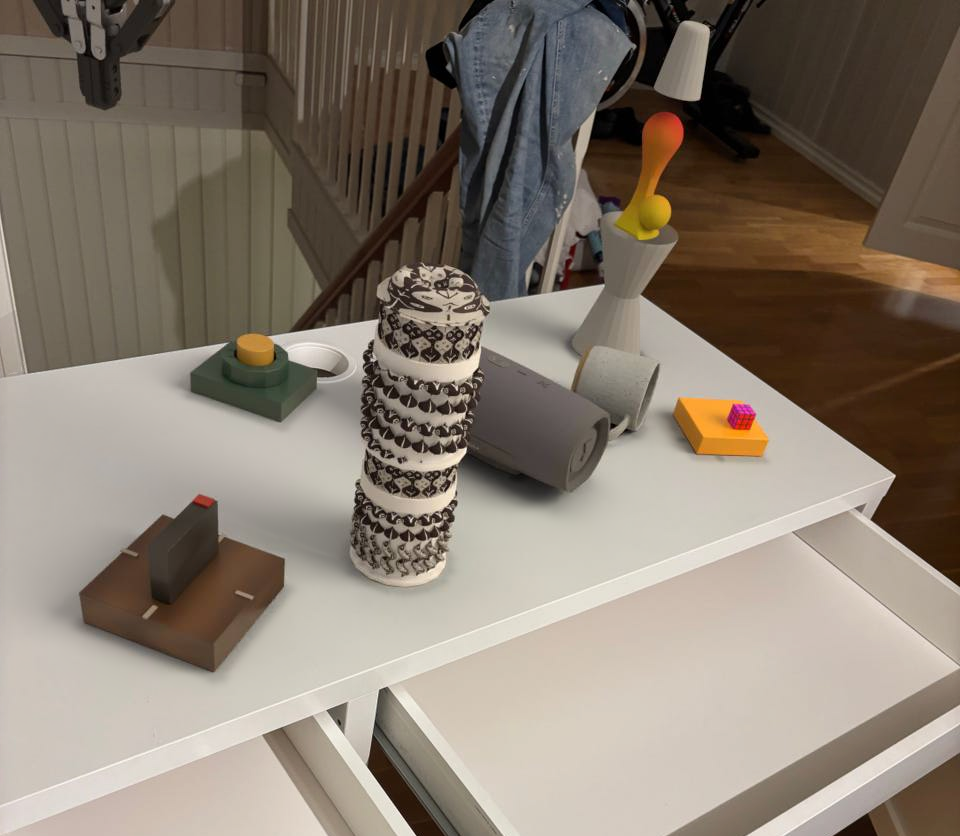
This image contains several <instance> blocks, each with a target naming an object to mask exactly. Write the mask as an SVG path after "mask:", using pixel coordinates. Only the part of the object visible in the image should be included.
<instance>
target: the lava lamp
mask: <svg viewBox="0 0 960 836" xmlns="http://www.w3.org/2000/svg"><path fill="white" fill-rule="evenodd" d="M710 35H711V31H710V28H709V27H708V25H705V24H703V23H701V22H698V21H693V20H684V21H682V22H681V23H680V24H679V25H678V27H677V30H676V32H675V35H674V37H673V39H672V42H671V44H670V47H669V49H668V51H667V53H666V56H665V58H664V61H663V64H662V66H661V68H660V71H659V74H658V76H657V78H656V81H655V83H654V86H653V89H654V90H655V91H656V92H657V93H659V94H661V95H663V96H666V97H668V98H672V99H674V100H676V99H677V100H679V101H680V100H681V101H687V102H696V101H700V100H701V95H702V89H703V81H704V77H705V76H704V75H705V68H706V62H707V56H708V49H709V43H710V37H711V36H710ZM641 133H642V136H641V142H642V143H641V146H642V149H641V152H642V154H641V155H642V156H641V157H642V161H641V162H642V163H641V171H640V175H639V178H638V183H637V186H636V189H635V191H634V193H633V195H632V198H631V200H630V202H629V204H627V207H626V208H625V209H624V210H620V211H619V210H618V211H617V210H616V211H609V212H607V213H604V214H602V216H601V217H600V235H601V251H602V266H603V280H604V287H603V288H602V290H601V292H600V293H599V295H598V297H597V298H596V300H595V302H594V303H593V305H592V307H591V308H590V310H589V311H588V313H587V315H586V316H585V318H584V320H583V321H582V323H581V325H580V326H579V327H578V329H577V331H576V333H575V334H574V336H573V337H572V339H571V347H572V348H573V349H574V352H576V353H577V354H578V355H579V356H580V357H582V355H583V354H584V352H585V351H586V350H587V349H588V348H589V347H591V346H604V347H609V348H613V349H616V350H620V351H624V352H628V353H632V354H636V355H640V356H641V315H640V314H641V307H640V306H641V305H640V304H641V303H640V296H641V295H642V293H643V292H644V290H645V289H646V287H647V286H648V284H649V283H650V281H651V280H652V278H653V277H654V276H655V274H656V273H657V271H658V270H659V268H660V267H661V266H662V264H663V263H664V261H665V260H666V258H667V257H668V255H669V254H670V253H671V252H672V250H673V248H674V247H675V246H676V244H677V243H678V240H679V233H678V231H677V230H676V229H675V228H674V227H673V226H671V225H670V224H668V223H669V221H670V219H671V217H672V207H671V204H670V201H669V200H668V199H667V198H666V197H664V196H662V195H660V194H655V191H656V188H657V186H658V182H659V179H660V177H661V175H662V174H663V172H664V170H665V168H666V166H667V165H668V163H669V161H670V160H671V159H672V158H673V156H674V155H675V154H676V153H677V151H678V149H679V148H680V146H681V145H682V142H683V140H684V126H683V124H682V121H681V119H680V118H679V117H678V116H677V115H676V114H674V113H672V112H670V111H660V112H657V113H655V114H653V115H652V116H651V117H649V118H648V120H647V121H646V122H645V123H644V126H643V128H642V132H641Z"/></svg>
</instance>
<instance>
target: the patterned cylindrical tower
mask: <svg viewBox="0 0 960 836" xmlns="http://www.w3.org/2000/svg"><path fill="white" fill-rule="evenodd" d="M376 288H377V289H376V297H377V298H378V299H379V301H380V302H379V313H378V321H377V322H378V323H377V324H376V325H375V329H374V339H371V340H370V341H369V342H368V343H367V349H365V350H364V351H363V352H362V360H363V361H364V363H363V364H362V370H363V372H364V373H365V374H366V375H365V376H363V378H362V380H361V385H362V387H363V391H362V394H361V396H360V401H361V403H362V405H361V406H360V412H361V414H362V415H363V416H362V417H361V419H360V422H359V424H360V427H361V431H360V441H361V442H362V444H363V446H364V447H365V449H364V450H365V451H364V458H363V459H362V462H361V469H360V470H361V471H360V478H358V479H357V480H356V481H355V483H354V485H355V486H354V487H355V488H356V490H355V492H354V498H353V502H354V504H355V505H354V506H353V511H352V514H351V526H350V527H351V528H350V539H349V542H350V550H349V556H350V558H351V560H352V563H353V565H354V567H355V569H357V570H358V571H359V572H360V573H362V574H363V575H364V576H366V577H367V578H368V579H370V580H373V581H376V582H378V583H380V584H383V585H385V586H393V587H402V588H403V587H404V588H409V587H414V586H421V585H426V584H427V583H429V582H431V581H433V580H435V579H437V578H438V577H439V576H440V574H441V573H442V572H443V570H444V569H445V567H446V563H447V562H446V559H447V557H446V556H447V553H449V552H450V546H448V542H449V541H450V539H451V538H452V537H453V533H452V532H451V531H450V528H452V527H453V523H454V522H455V520H456V516H455V514H454V511H455V508H457V507H458V505H459V501H458V499H457V496H458V490H457V485H458V472H457V471H458V467H459V463H460V462H461V460H462V459H463V458H464V457H465V455H466V454H467V452H466V450H467V444H468V442H470V440H471V435H470V433H469V432H470V429H471V427H472V423H473V422H474V420H475V417H474V415H473V414H472V410H471V409H473V408H475V407H476V406H477V402H479V401H480V399H481V395H480V394H479V388H481V386H482V382H483V381H484V374H483V373H482V372H481V368H480V367H479V366H478V365H479V359H480V354H481V346H482V343H481V342H482V341H481V337H482V333H483V327H484V320H485V318H486V317H487V316H488V315H489V314H490V313H491V306H490V300H488V299H487V297H486V296H485V295H484V294H483V293H482V291H480V289H479V287H478V285H477V283H476V282H475V281H474V280H473V278H471V277H470V275H468V274H467V273H465V272H464V271H462V270H460V269H458V268H455V267H452V266H449V265H446V264H443V263H435V262H428V261H427V262H414V263H410V264H405V265H403V266H402V267H401V268H399V270H397V271H395V272H394V274H392V276H389V277H386V278H385V279H384V280H383V281H382V282H380V283H379V284H378V285H377V287H376ZM374 357H375V358H374ZM472 377H474V379H473V380H472ZM471 380H472V381H471ZM468 397H469V399H468Z"/></svg>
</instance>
